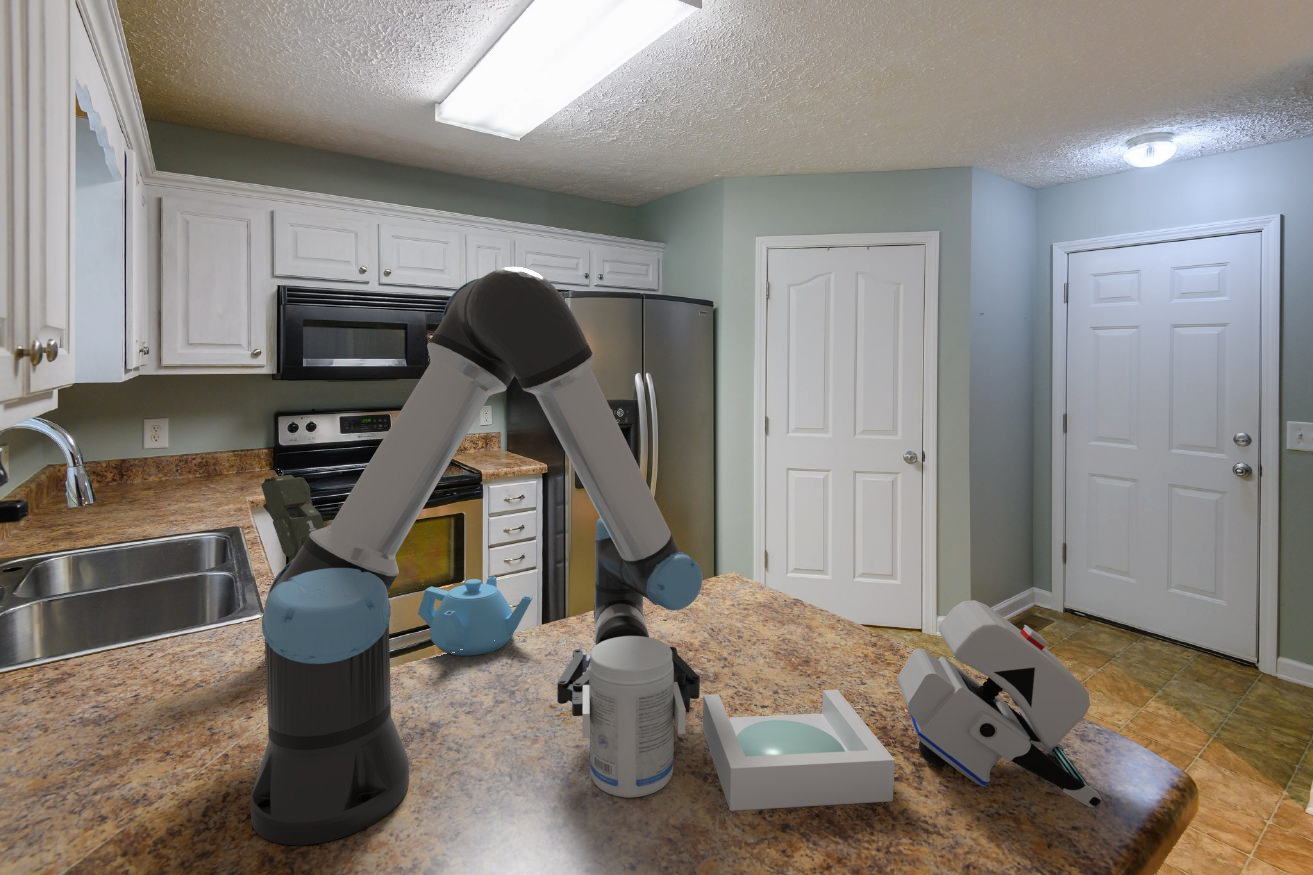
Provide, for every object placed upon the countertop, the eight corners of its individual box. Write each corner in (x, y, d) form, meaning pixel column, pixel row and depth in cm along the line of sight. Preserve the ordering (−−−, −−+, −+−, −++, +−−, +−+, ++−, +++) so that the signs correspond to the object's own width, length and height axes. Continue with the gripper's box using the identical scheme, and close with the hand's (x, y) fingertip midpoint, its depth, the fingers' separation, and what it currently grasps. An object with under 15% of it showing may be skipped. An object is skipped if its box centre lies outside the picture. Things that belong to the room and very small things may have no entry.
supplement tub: (670, 751, 79) (673, 634, 78) (675, 801, 69) (678, 669, 68) (591, 751, 79) (592, 634, 77) (585, 802, 69) (586, 669, 68)
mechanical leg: (355, 650, 105) (325, 467, 106) (311, 666, 99) (280, 472, 100) (310, 650, 112) (282, 479, 113) (266, 665, 106) (237, 485, 107)
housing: (729, 810, 68) (731, 768, 68) (702, 729, 84) (703, 694, 84) (892, 801, 70) (894, 759, 70) (836, 723, 86) (837, 689, 86)
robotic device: (1038, 865, 71) (1168, 736, 68) (876, 739, 74) (994, 607, 70) (1006, 804, 81) (1118, 689, 78) (866, 695, 84) (968, 579, 80)
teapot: (498, 619, 122) (497, 563, 121) (535, 645, 110) (534, 583, 109) (415, 637, 112) (414, 577, 112) (446, 668, 101) (445, 601, 100)
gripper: (699, 663, 93) (735, 752, 70) (542, 668, 90) (528, 762, 68) (700, 612, 92) (737, 686, 70) (542, 616, 89) (528, 693, 67)
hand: (634, 723), depth 69 cm, fingers closed on supplement tub, 9 cm apart
